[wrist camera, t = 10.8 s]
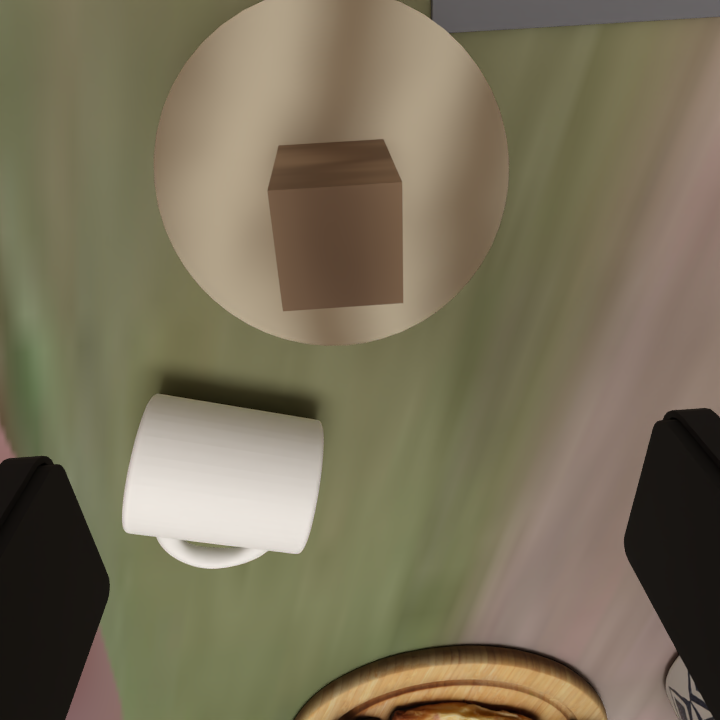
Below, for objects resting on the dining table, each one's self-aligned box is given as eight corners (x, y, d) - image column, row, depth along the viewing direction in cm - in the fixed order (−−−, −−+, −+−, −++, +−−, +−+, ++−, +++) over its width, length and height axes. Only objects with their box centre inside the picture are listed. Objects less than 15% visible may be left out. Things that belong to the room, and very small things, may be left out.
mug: (161, 367, 36) (124, 454, 29) (323, 395, 38) (325, 484, 31) (147, 508, 42) (114, 608, 35) (288, 526, 44) (283, 625, 37)
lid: (517, -24, 21) (596, -28, 15) (490, 324, 29) (535, 412, 23) (119, -2, 21) (39, 2, 15) (196, 345, 28) (163, 439, 22)
